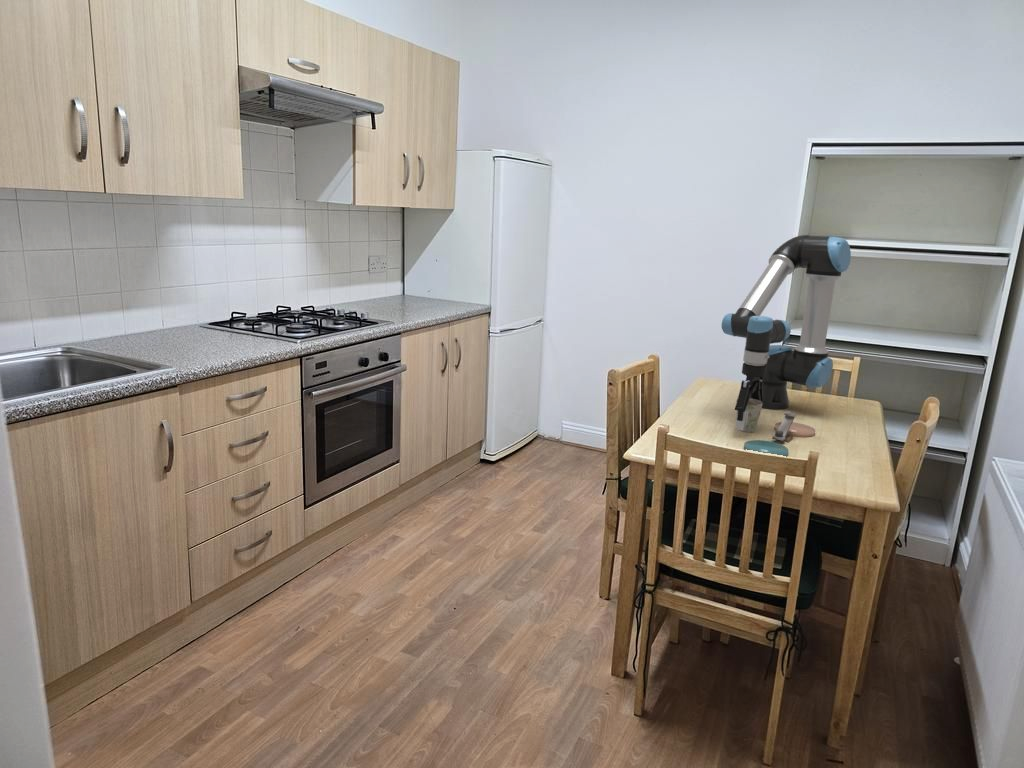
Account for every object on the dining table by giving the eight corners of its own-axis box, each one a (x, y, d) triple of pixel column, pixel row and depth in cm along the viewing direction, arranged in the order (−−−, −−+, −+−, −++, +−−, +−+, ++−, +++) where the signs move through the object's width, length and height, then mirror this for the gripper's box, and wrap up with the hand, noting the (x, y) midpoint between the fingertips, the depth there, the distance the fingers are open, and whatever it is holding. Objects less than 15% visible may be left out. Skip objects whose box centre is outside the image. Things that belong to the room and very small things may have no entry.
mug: (758, 427, 239) (762, 399, 236) (758, 438, 227) (762, 409, 225) (733, 424, 241) (737, 396, 239) (732, 435, 230) (735, 406, 227)
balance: (768, 441, 224) (771, 418, 222) (781, 432, 234) (785, 410, 232) (783, 445, 221) (787, 422, 219) (796, 436, 231) (800, 413, 229)
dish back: (768, 430, 236) (769, 427, 236) (781, 422, 246) (781, 419, 245) (808, 439, 228) (808, 436, 228) (819, 431, 238) (820, 427, 238)
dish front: (737, 450, 215) (737, 446, 214) (752, 440, 224) (753, 437, 224) (779, 461, 207) (780, 457, 206) (793, 450, 217) (794, 447, 216)
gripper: (752, 370, 217) (744, 436, 222) (778, 360, 235) (770, 420, 241) (729, 366, 221) (721, 430, 227) (756, 356, 240) (748, 416, 245)
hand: (746, 425), depth 234 cm, fingers closed on mug, 12 cm apart
